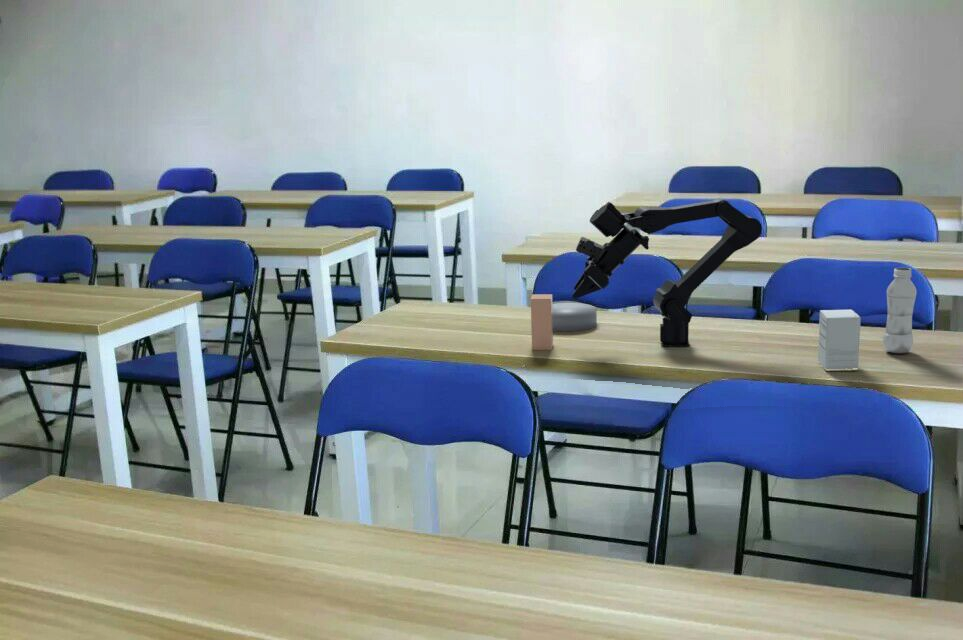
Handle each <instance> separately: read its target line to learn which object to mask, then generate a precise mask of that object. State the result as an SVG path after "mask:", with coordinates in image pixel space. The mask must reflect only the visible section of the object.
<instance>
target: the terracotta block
mask: <svg viewBox="0 0 963 640" xmlns="http://www.w3.org/2000/svg"><path fill="white" fill-rule="evenodd" d="M552 304H553V294H549V293H548V294H545V293H544V294H542V293H541V294H538V293H537V294H531V297H530V321H531V322H530V323H531V326H530V327H531V328H530V329H531V350H539V351H541V350H543V351H546V350H551V351H552V350H553V348H552V347H554V331H553V306H552ZM545 349H546V350H545Z"/></svg>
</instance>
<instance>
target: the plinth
mask: <svg viewBox="0 0 963 640" xmlns="http://www.w3.org/2000/svg"><path fill="white" fill-rule="evenodd" d="M552 306H553V332H579V331H585V330H590V329H592V328H594V327H596V326H597V325H598V324H597V321H598V320H597V316H598V315H597V314H598V313H597V311H598V310H597V309H598V308H597V307H596V306H594V305H591V304H586V303H578V302H559V303H552Z"/></svg>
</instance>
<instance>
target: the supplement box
mask: <svg viewBox="0 0 963 640" xmlns="http://www.w3.org/2000/svg"><path fill="white" fill-rule="evenodd" d="M861 319H862V317H861V316H860V315H859V314H858V313H856V312H855V311H854V310H853V309H821V310H819V320H818V321H819V323H818V325H819V326H818V327H819V328H818V349H817V362H818V361H819V362H820V364H821V365H822V366H823V367H824V368H826V369H846V368H847V369H853V368H858V369H859V360H860V359H859V355H860V338H861V337H860V336H861ZM820 364H819V365H820Z"/></svg>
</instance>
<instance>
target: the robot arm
mask: <svg viewBox="0 0 963 640" xmlns="http://www.w3.org/2000/svg"><path fill="white" fill-rule="evenodd" d="M717 217H718V218H719V219H720V220H721V221H723V222H724V223H725V224H726V225H727V227H726V228H725V230H724V231H723V234H722V236H721V238H720V240H718V242H716V243H715V245H713V246H712V247H711V248H710V249H709V250H708V251H707V252H706V253H704V255H703V256H702V257H701V258H699V260H698V261H696V263H694V264H693V265H692V266H691V267H690V268H689V269H688V270H687V271H686V272H685V273H684V274H683V275H682V276H681V277H680V278H678V279H677V280H674V281H672V280H671V279H669V278H667V279H666V280H665V281H664V283H663V284H661V286H660V287H657V288H656V289H655V291H656V293H655V294H654V295H653V297H652V298H653V300H652V301H653V306H654V308H655V309H656V310H657V311H659V312H660V314H661V316H662V323H660V324H659V340H660V341H659V342H660V343H661V344H662V347H690V341H689V333H690V332H689V331H690V329H689V325H690V322H691V321H692V317H693V313H691V312H690V311H689V310H688V309H687V308H686V306H687V305H688V303H689V301H690V299H691V296H692V294H693V292H695V290H696V289H697V288H698V287H699V286H700V285H701V284H702V283H704V282H705V280H707V279H708V278H709V277H710V276H711V275H712V274H713V273H714V272H715V271H716V270H717V269H718V268H720V267H721V266H722V264H724V262H726V261H727V260H728V259H729V258H730V257H731V256H732V255H733V254H734V253H735V252H738V251H739V250H741V249H743V248H746V247H748V246H749V245H751V244H752V243H755V241H756V240H757V239H759V238H760V237H761V235H762V234H763V231H762V230H763V226H762V222H760V221H759V220H758V219H757V218H755V217H752V216H749V215H746V214H744V213H743V212H741V211H740V210H739V209H737V208H735V207H734V206H733V205H732V204H731V203H730V202H729V201H727V200H725V199H724V198H723V199H722V198H714V199H713V200H712V199H711V200H708V201H707V200H706V201H702V202H695V203H690V204H689V203H688V204H683V205H677V206H671V207H664V206H663V207H662V206H641V207H637V208H636V210H635V211H634V212H629V213H625V214H622V212H620V211H619V210H618V209H617V208H616V206H615V205H614V204H613V203H612V202H611V201H608V202H607V203H605V204H604V205H602V206H601V207H600V208H599V209H597V210H595V211H594V212H593V213H592V215H591V217H590V219H589V223H590V224H591V225H592V226H593V227H595V228H596V230H598V231H599V232H600V233H601V234H602V235H603V236H604V237H606V238H608V237H612V239H611V240H610V241H609V242H605V243H604V244H603V245H601V244H599V243H597V242H596V241H594V240H590V238H589V239H588V238H586V237H584V236H581V237H580V239H579V241H578V243H577V245H576V247H575V251H576V252H577V253H579V254H584V255H585V256H587V257H586V260H585V266H584V268H585V269H584V270H583V273H582V274H581V276H580V277H579V279H578V280H577V281H576V283H575V285H574V286H573V289H574V290H575V291H574V292H573V293H572V295H571V297H572V298H573V299H574V300H577V299H579V298H582V297H584V296H586V295H590V294H592V293H596V292H598V291H601V290H604V289H606V287H607V286H609V284H610V277H611V276H612V275H613V272H614V271H615V270H616V269H617V268H618V267H619V266H620V265H623V264H624V263H625V261H626V259H627V258H629V257H630V255H631V254H632V253H633V252H634V251H636V249H638V248H639V247H640V245H641V246H642V247H643V248H644V249H645V250H647V251H649V250H648V249H650V247H649V242H650V238H649V236H648V235H642V234H641V233H640V232H639V231H641V232H643V233H644V234H645V233H646V234H654V233H656V232H659V231H662V230H665V229H666V228H669V227H670V226H673V225H676V224H682V223H688V222H694V221H700V220H707V219H711V218H712V219H713V218H717ZM626 224H627V225H629V226H630V227H631V228H633V229H630V228H629V227H628V226H627V225H626ZM635 228H636V229H635ZM638 230H639V231H638Z"/></svg>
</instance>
